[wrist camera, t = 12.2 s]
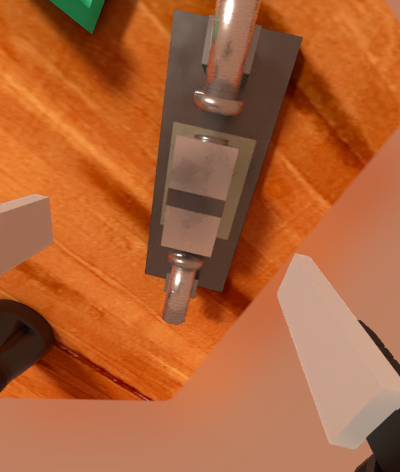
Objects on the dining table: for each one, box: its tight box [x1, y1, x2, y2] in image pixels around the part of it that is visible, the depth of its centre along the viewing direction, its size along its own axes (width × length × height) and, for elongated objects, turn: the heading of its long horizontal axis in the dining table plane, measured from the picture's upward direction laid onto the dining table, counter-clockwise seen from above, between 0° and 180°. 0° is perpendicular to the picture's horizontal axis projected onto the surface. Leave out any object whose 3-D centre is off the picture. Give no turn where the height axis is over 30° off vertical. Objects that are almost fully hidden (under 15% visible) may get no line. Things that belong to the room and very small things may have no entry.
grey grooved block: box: [161, 133, 239, 257], centre depth 22 cm, size 11×5×7 cm, turn 168°
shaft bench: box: [145, 0, 303, 325], centre depth 23 cm, size 32×12×9 cm, turn 168°
